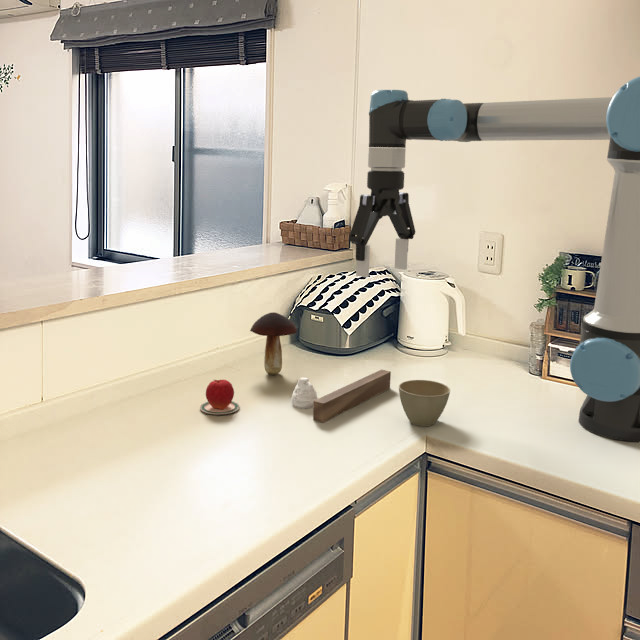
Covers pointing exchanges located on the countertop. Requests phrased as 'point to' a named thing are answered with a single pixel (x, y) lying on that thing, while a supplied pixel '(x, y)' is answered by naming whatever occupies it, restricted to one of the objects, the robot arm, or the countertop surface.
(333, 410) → the board
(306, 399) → the garlic bulb
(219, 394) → the apple
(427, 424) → the flower pot
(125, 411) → the countertop surface
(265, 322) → the decorative mushroom
